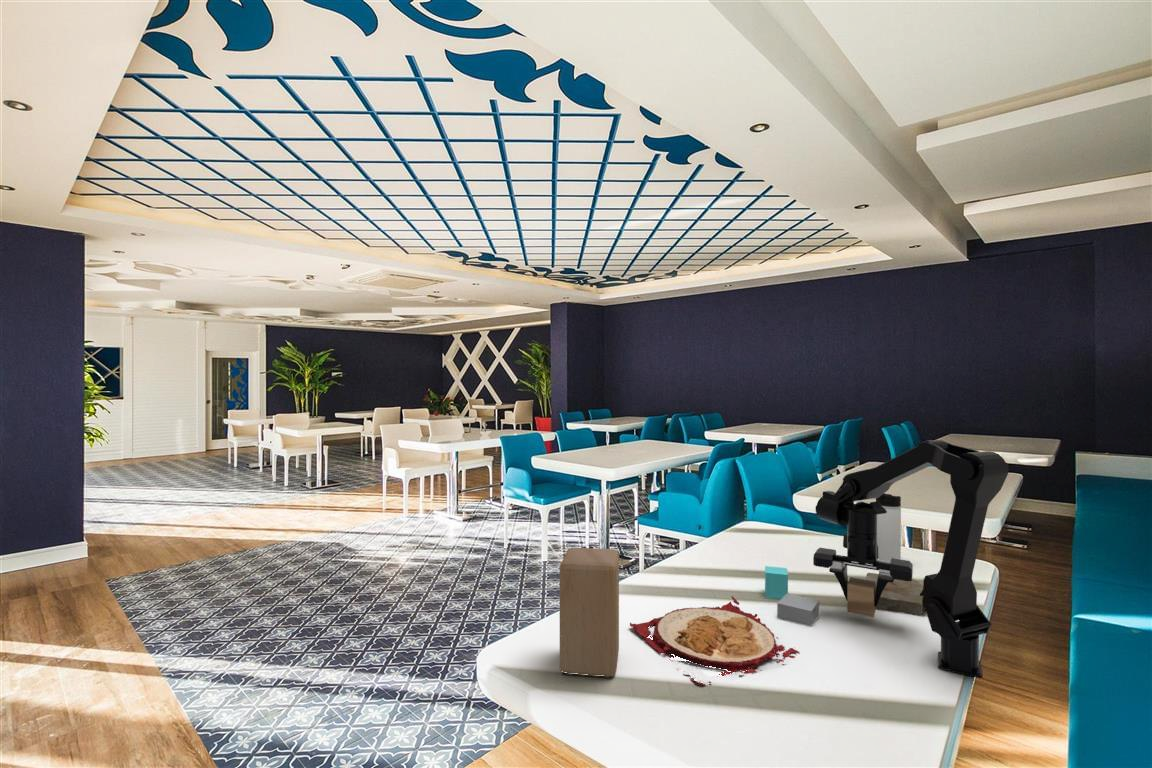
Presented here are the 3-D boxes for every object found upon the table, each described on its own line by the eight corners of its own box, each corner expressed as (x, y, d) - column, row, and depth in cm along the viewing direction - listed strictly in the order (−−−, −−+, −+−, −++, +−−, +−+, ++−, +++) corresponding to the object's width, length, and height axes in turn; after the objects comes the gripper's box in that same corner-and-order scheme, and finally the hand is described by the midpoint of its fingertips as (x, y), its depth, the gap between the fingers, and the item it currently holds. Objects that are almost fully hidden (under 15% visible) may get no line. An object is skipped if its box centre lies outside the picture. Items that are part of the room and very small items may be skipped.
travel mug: (869, 562, 160) (869, 491, 160) (885, 558, 163) (885, 489, 162) (889, 569, 154) (890, 495, 154) (905, 565, 157) (906, 493, 157)
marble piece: (847, 605, 130) (847, 587, 130) (851, 585, 143) (851, 568, 143) (932, 620, 122) (932, 601, 122) (928, 597, 135) (928, 580, 135)
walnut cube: (873, 617, 118) (873, 588, 118) (847, 611, 121) (847, 584, 121) (875, 609, 122) (875, 581, 122) (850, 604, 125) (850, 577, 125)
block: (558, 676, 99) (558, 562, 99) (567, 648, 109) (567, 545, 109) (615, 680, 98) (615, 565, 97) (619, 652, 108) (619, 547, 107)
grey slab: (811, 627, 119) (811, 611, 119) (777, 619, 123) (777, 603, 123) (819, 616, 124) (819, 600, 124) (786, 608, 129) (786, 593, 129)
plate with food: (628, 632, 118) (628, 615, 118) (730, 608, 128) (730, 592, 128) (698, 695, 95) (698, 674, 95) (816, 659, 106) (816, 640, 106)
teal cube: (787, 600, 133) (787, 574, 133) (765, 597, 134) (765, 572, 134) (786, 592, 138) (786, 568, 137) (765, 590, 139) (765, 566, 139)
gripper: (913, 528, 123) (913, 599, 123) (821, 517, 133) (821, 583, 133) (911, 541, 114) (911, 618, 114) (813, 528, 124) (812, 598, 124)
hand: (861, 603), depth 122 cm, fingers closed on walnut cube, 5 cm apart
